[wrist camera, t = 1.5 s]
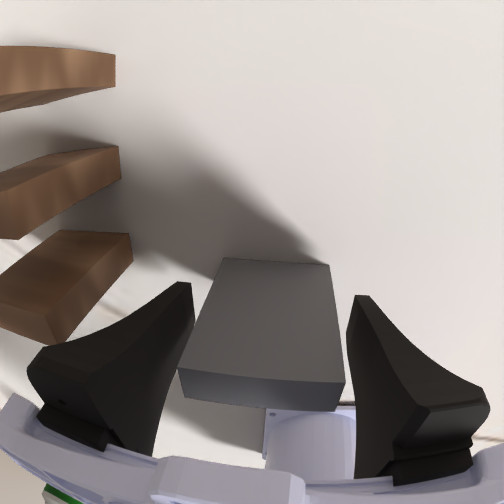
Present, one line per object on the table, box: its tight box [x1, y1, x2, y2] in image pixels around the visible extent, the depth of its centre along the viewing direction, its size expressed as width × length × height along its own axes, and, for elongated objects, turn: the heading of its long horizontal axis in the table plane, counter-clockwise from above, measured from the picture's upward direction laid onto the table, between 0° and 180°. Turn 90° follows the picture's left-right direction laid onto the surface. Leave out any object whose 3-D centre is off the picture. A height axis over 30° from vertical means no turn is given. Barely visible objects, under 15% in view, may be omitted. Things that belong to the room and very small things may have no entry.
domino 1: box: [0, 46, 115, 112], centre depth 8 cm, size 2×5×7 cm, turn 90°
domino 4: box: [177, 258, 346, 412], centre depth 12 cm, size 2×5×7 cm, turn 89°
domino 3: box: [0, 230, 133, 346], centre depth 13 cm, size 2×5×7 cm, turn 90°
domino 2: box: [0, 146, 121, 240], centre depth 10 cm, size 2×5×7 cm, turn 90°
